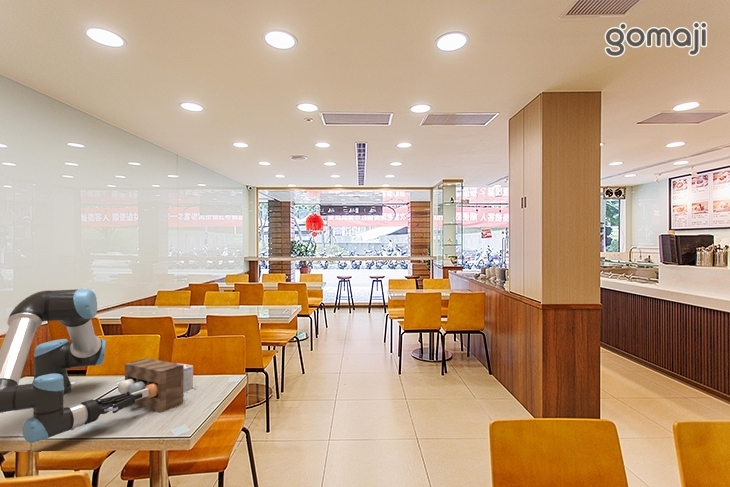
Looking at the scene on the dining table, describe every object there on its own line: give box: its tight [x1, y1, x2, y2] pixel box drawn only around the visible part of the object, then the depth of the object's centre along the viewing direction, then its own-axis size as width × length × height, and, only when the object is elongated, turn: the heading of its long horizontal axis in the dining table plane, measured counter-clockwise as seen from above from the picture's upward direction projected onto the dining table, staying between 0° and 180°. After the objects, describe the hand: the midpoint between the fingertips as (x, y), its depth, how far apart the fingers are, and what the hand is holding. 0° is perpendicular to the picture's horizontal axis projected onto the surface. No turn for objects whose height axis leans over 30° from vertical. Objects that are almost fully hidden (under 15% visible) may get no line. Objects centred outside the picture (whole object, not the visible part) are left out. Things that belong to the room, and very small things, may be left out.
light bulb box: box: [175, 362, 194, 393], centre depth 180 cm, size 11×7×11 cm, turn 67°
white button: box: [117, 379, 136, 395], centre depth 162 cm, size 5×8×5 cm, turn 153°
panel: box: [124, 357, 184, 413], centre depth 163 cm, size 24×10×16 cm, turn 63°
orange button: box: [145, 383, 158, 398], centre depth 157 cm, size 5×8×5 cm, turn 153°
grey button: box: [128, 381, 147, 394], centre depth 159 cm, size 5×8×5 cm, turn 153°
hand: (147, 392), depth 153 cm, fingers closed
